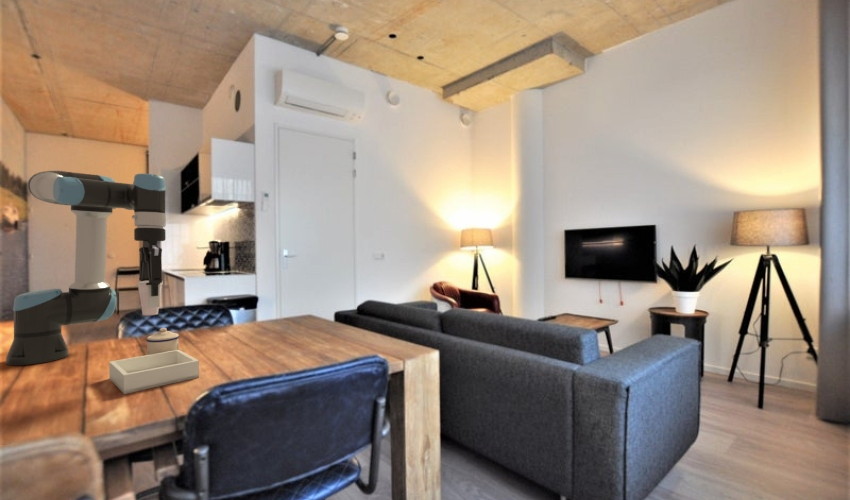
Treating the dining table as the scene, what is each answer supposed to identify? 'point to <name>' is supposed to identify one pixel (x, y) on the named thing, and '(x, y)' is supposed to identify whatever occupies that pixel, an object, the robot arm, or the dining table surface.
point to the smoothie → (146, 298)
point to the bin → (152, 370)
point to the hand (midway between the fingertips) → (150, 306)
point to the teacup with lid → (162, 342)
